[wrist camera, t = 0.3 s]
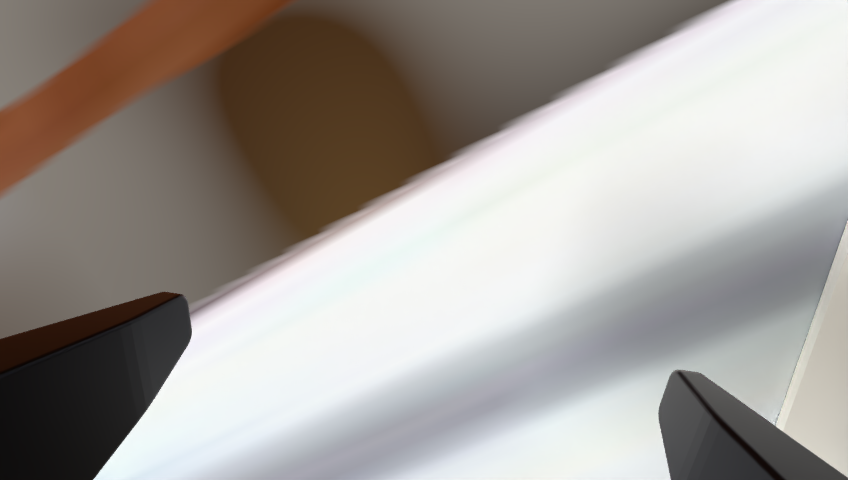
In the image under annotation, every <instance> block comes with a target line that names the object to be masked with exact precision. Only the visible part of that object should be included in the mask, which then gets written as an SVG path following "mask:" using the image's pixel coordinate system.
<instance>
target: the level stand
mask: <svg viewBox="0 0 848 480" xmlns="http://www.w3.org/2000/svg"><path fill="white" fill-rule="evenodd" d="M776 427H777V428H779V429H780V430H781V431H783V432H784V433H786V434H787V435H788V436H790V437H791V438H793V439H794V440H795V441H797V442H798V443H800V444H801V445H803V446H804V447H805V448H807V449H808V450H810V451H811V452H812V453H814V454H815V455H817V456H818V457H819V458H821V459H822V460H824V461H825V462H827V463H828V464H829V465H831V466H832V467H834V468H835V469H836V470H838V471H839V472H841V473H842V474H843V475H845V476H846V477H848V221H847V224H846V227H845V230H844V232H843V235H842V238H841V241H840V244H839V247H838V249H837V252H836V255H835V258H834V261H833V264H832V266H831V269H830V272H829V275H828V278H827V281H826V284H825V286H824V289H823V292H822V295H821V298H820V301H819V303H818V306H817V309H816V312H815V315H814V318H813V321H812V323H811V326H810V329H809V332H808V335H807V338H806V340H805V343H804V346H803V349H802V352H801V355H800V357H799V360H798V363H797V366H796V369H795V372H794V375H793V377H792V380H791V383H790V386H789V389H788V392H787V394H786V397H785V400H784V403H783V406H782V409H781V411H780V414H779V417H778V420H777V423H776Z"/></svg>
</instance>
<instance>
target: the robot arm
mask: <svg viewBox="0 0 848 480" xmlns="http://www.w3.org/2000/svg"><path fill="white" fill-rule="evenodd" d="M191 335H192V328H191V320H190V313H189V305H188V300H187V299H186V297H185V296H184V295H182V294H177V293H170V292H160V293H157V294H153V295H150V296H146V297H143V298H139V299H136V300H133V301H129V302H126V303H123V304H119V305H115V306H112V307H109V308H105V309H102V310H98V311H95V312H91V313H88V314H84V315H81V316H77V317H74V318H71V319H67V320H64V321H60V322H57V323H53V324H50V325H47V326H43V327H40V328H36V329H33V330H29V331H26V332H23V333H19V334H15V335H12V336H9V337H5V338H2V339H0V480H93V479H94V478H95V477H96V475H97V474H98V473H99V471H100V470H101V469H102V468H103V466H104V465H105V464H106V462H107V461H108V460H109V459H110V457H111V456H112V455H113V453H114V452H115V451H116V450H117V448H118V447H119V446H120V444H121V443H122V442H123V440H124V439H125V438H126V437H127V435H128V434H129V433H130V431H131V430H132V429H133V428H134V426H135V425H136V424H137V422H138V421H139V420H140V418H141V417H142V416H143V414H144V413H145V412H146V410H147V409H148V407H149V406H150V404H151V403H152V401H153V400H154V398H155V397H156V395H157V394H158V392H159V390H160V389H161V387H162V386H163V384H164V382H165V381H166V379H167V378H168V376H169V374H170V373H171V371H172V370H173V368H174V367H175V365H176V363H177V362H178V360H179V359H180V357H181V355H182V354H183V352H184V351H185V349H186V347H187V346H188V344H189V342H190V339H191ZM659 423H660V428H661V433H662V438H663V443H664V448H665V453H666V458H667V463H668V468H669V473H670V477H671V480H848V477H846V476H845V475H843V474H842V473H841V472H839V471H838V470H836V469H835V468H834V467H832V466H831V465H829V464H828V463H827V462H825V461H824V460H822V459H821V458H819V457H818V456H817V455H815V454H814V453H812V452H811V451H810V450H808V449H807V448H805V447H804V446H803V445H801V444H800V443H798V442H797V441H795V440H794V439H793V438H791V437H790V436H788V435H787V434H786V433H784V432H783V431H781V430H780V429H779V428H777V427H776V426H774V425H773V424H772V423H770V422H769V421H767V420H766V419H764V418H763V417H762V416H760V415H759V414H757V413H756V412H755V411H753V410H752V409H750V408H749V407H748V406H746V405H745V404H743V403H742V402H741V401H739V400H738V399H736V398H735V397H733V396H732V395H731V394H729V393H728V392H726V391H725V390H724V389H722V388H721V387H719V386H718V385H717V384H715V383H714V382H712V381H711V380H709V379H708V378H707V377H705V376H704V375H702V374H701V373H698V372H692V371H685V370H675V371H673V372H672V374H671V375H670V377H669V380H668V383H667V386H666V389H665V392H664V395H663V398H662V400H661V403H660V407H659Z"/></svg>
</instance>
